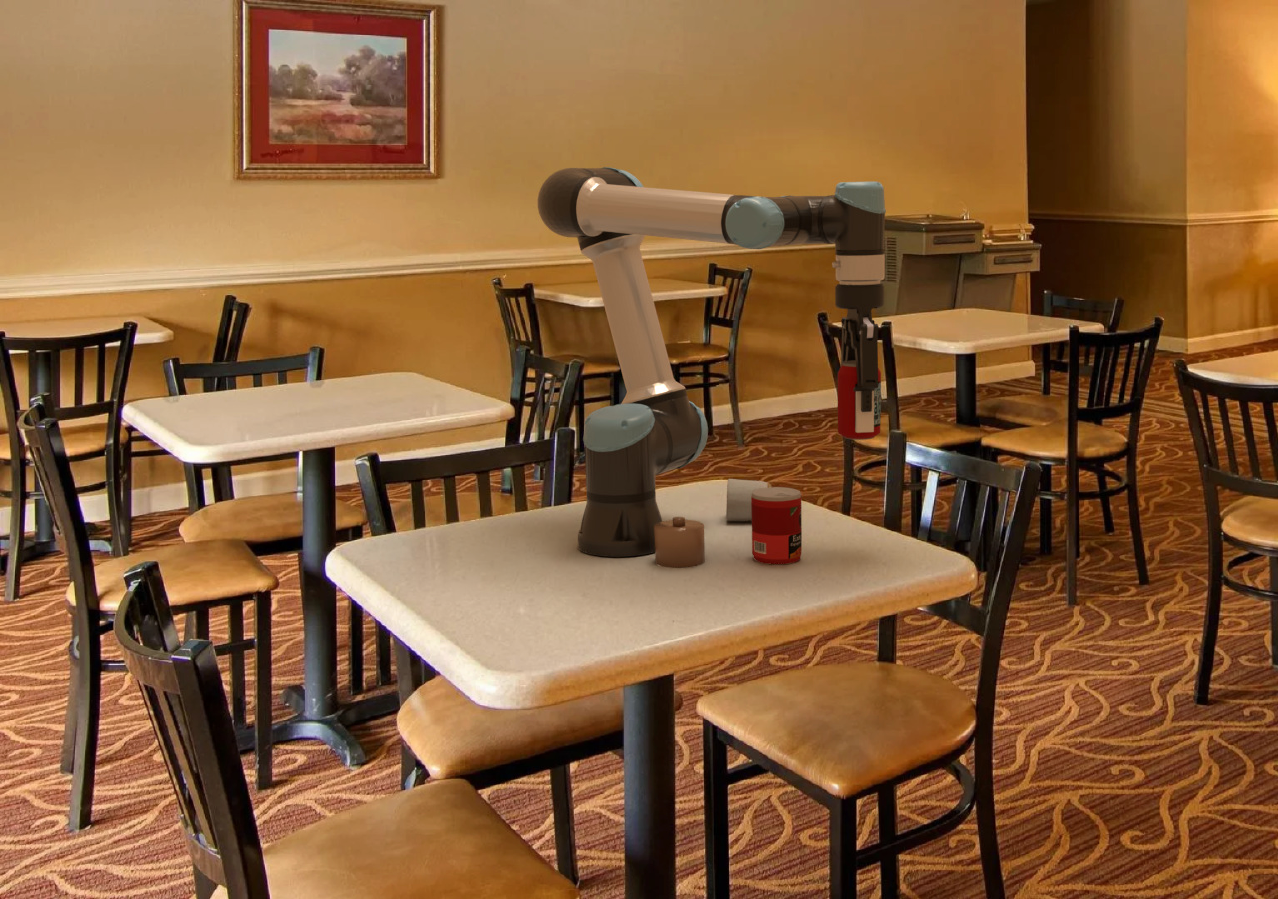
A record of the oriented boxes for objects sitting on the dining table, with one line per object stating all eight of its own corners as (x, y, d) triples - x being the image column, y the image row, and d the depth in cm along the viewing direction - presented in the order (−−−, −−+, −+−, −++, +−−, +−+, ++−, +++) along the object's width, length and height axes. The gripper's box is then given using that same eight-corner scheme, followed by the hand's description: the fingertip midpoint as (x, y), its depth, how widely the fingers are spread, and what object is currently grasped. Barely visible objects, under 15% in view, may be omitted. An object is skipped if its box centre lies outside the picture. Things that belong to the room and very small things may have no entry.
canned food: (799, 565, 207) (799, 497, 205) (749, 564, 209) (748, 496, 207) (803, 553, 215) (803, 487, 213) (754, 552, 216) (753, 486, 214)
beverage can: (870, 442, 205) (871, 365, 203) (830, 439, 208) (830, 363, 206) (886, 435, 211) (887, 360, 208) (847, 432, 214) (847, 358, 212)
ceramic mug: (772, 525, 234) (771, 482, 233) (726, 525, 234) (725, 483, 233) (771, 512, 244) (770, 471, 243) (726, 512, 245) (726, 472, 244)
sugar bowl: (645, 563, 212) (643, 520, 210) (676, 552, 218) (675, 510, 216) (684, 571, 207) (682, 526, 205) (714, 559, 213) (713, 516, 211)
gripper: (821, 279, 214) (821, 418, 219) (851, 287, 195) (850, 439, 199) (867, 278, 215) (866, 417, 219) (900, 285, 196) (899, 437, 200)
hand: (858, 427), depth 209 cm, fingers closed on beverage can, 7 cm apart
